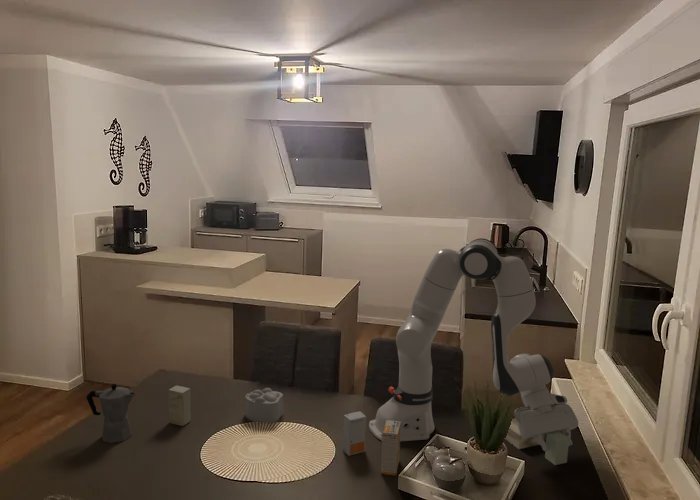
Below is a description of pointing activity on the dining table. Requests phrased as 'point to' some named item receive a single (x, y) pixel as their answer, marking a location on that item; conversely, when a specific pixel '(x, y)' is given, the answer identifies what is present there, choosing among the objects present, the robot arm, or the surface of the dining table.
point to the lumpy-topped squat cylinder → (264, 406)
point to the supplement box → (390, 447)
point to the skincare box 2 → (354, 433)
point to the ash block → (519, 437)
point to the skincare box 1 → (179, 405)
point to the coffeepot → (113, 412)
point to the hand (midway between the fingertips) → (558, 447)
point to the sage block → (557, 448)
